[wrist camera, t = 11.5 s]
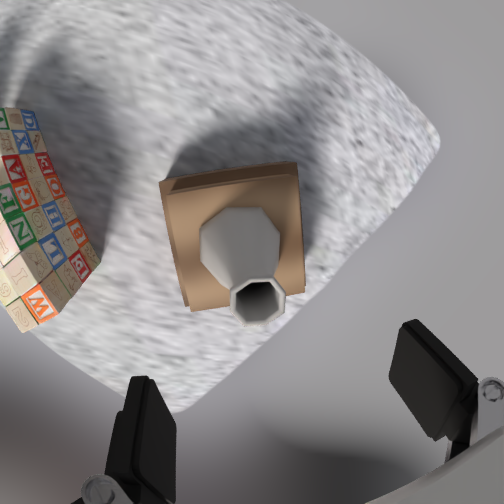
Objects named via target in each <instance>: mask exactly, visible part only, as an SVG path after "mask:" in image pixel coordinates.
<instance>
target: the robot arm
mask: <svg viewBox="0 0 504 504" xmlns="http://www.w3.org/2000/svg"><path fill="white" fill-rule="evenodd" d="M389 380H390V382H391V384H392V385H393V387H394V388H395V389H396V391H397V392H398V394H399V395H400V397H401V398H402V399H403V401H404V402H405V404H406V405H407V407H408V408H409V409H410V411H411V412H412V414H413V415H414V417H415V418H416V420H417V421H418V423H419V424H420V425H421V427H422V428H423V430H424V431H425V433H426V434H427V436H428V437H430V438H431V437H432V438H433V440H434V441H437V440H439V439H441V438H442V437H444V436H445V435H446V436H447V438H448V446H447V451H446V457H445V462H444V464H443V465H441V466H440V467H438V468H436V469H435V470H433V471H431V472H430V473H428V474H426V475H424V476H423V477H421V478H419V479H417V480H415V481H413V482H411V483H410V484H407V485H406V486H404V487H401V488H400V489H398V490H395V491H393V492H391V493H389V494H387V495H384V496H382V497H380V498H377V499H375V500H373V501H370V502H368V503H365V504H504V382H503V381H501V380H499V379H498V378H494V377H488V378H486V379H483V380H482V381H481V382H480V384H479V383H478V382H477V381H478V378H477V377H476V376H475V375H474V374H473V373H472V372H471V371H470V370H469V369H468V368H467V367H466V366H465V365H464V364H463V363H462V362H461V361H460V360H459V359H458V358H457V357H456V356H455V355H454V354H453V353H452V352H451V351H450V350H449V349H448V348H447V347H446V346H445V345H444V344H443V343H442V342H441V341H440V340H439V339H438V338H437V337H436V336H435V335H434V334H433V333H432V332H431V331H429V329H427V328H426V327H425V326H424V325H423V324H422V323H421V322H420V321H419V320H417V319H414V320H411V321H408V322H405V323H403V324H402V327H401V328H400V329H399V333H398V338H397V343H396V347H395V351H394V355H393V360H392V364H391V368H390V371H389ZM175 478H176V423H175V421H174V419H173V417H172V415H171V413H170V411H169V409H168V408H167V406H166V404H165V402H164V400H163V398H162V396H161V394H160V392H159V390H158V388H157V385H156V383H155V381H154V380H153V379H149V377H148V376H132V377H131V379H130V383H129V387H128V391H127V395H126V399H125V404H124V408H123V411H119V412H118V413H117V415H116V419H115V423H114V428H113V433H112V437H111V442H110V447H109V452H108V457H107V462H106V468H105V474H104V475H103V474H97V475H93V476H90V477H89V478H88V479H87V480H85V482H84V483H83V485H82V488H81V496H82V497H81V498H79V499H78V500H76V501H75V502H73V503H71V504H174V503H175V501H176V489H175V488H176V486H175V485H176V482H175V481H176V479H175Z"/></svg>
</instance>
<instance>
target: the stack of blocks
mask: <svg viewBox="0 0 504 504" xmlns="http://www.w3.org/2000/svg"><path fill="white" fill-rule="evenodd" d="M99 264H100V260H99V258H98V257H97V255H96V253H95V251H94V249H93V248H92V246H91V244H90V242H89V239H88V237H87V235H86V233H85V231H84V229H83V227H82V226H81V224H80V222H79V220H78V218H77V216H76V214H75V211H74V209H73V207H72V205H71V203H70V201H69V199H68V197H67V196H66V195H65V192H64V190H63V188H62V186H61V183H60V181H59V179H58V177H57V175H56V174H55V171H54V168H53V166H52V163H51V161H50V158H49V156H48V154H47V149H46V146H45V143H44V141H43V138H42V135H41V132H40V130H39V127H38V124H37V121H36V118H35V115H34V112H33V111H27V110H19V109H15V108H7V107H5V108H0V300H1V301H2V303H3V305H4V306H6V310H7V312H8V313H9V315H10V316H11V317H12V319H13V321H14V322H15V323H16V325H17V327H18V328H19V329H20V331H21V332H22V333H25V332H26V331H28V330H30V329H32V328H34V327H36V326H38V325H39V324H41V323H43V322H45V321H47V320H49V319H51V318H52V317H54V316H56V315H58V314H59V313H60V312H61V310H62V309H63V308H64V306H65V305H66V304H67V302H68V301H69V300H70V299H71V298H72V297H73V296H74V295H75V293H76V292H77V291H78V289H79V288H80V287H81V286H82V284H83V283H84V282H85V280H86V279H87V278H88V277H89V275H90V274H91V272H93V271H94V270H95V268H96V267H97V266H98V265H99Z"/></svg>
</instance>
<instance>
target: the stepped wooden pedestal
mask: <svg viewBox="0 0 504 504" xmlns="http://www.w3.org/2000/svg"><path fill="white" fill-rule="evenodd" d="M159 187H160V193H161V199H162V204H163V210H164V215H165V220H166V225H167V230H168V235H169V240H170V245H171V249H172V254H173V258H174V263H175V267H176V271H177V276H178V280H179V284H180V288H181V292H182V296H183V300H184V304H185V307H187V306H190V310H191V312H194V311H201V310H207V309H214V308H220V307H226V306H230V290H229V289H227V288H226V287H224V286H222V285H221V284H220V283H219V282H218V281H217V280H216V278H215V277H214V276H213V275H212V274H211V273H210V272H209V270H208V269H207V268H206V267H205V266H204V265H203V263H202V262H201V261H200V243H199V228H200V227H202V226H203V225H204V224H205V223H207V222H208V221H209V220H211V219H212V218H213V217H215V216H216V215H217V214H218V213H220V212H221V211H222V210H224V209H225V208H226V207H261V208H262V209H263V210H264V212H265V213H266V214H267V216H268V217H269V219H270V220H271V221H272V223H273V224H274V226H275V227H276V228H277V230H278V231H279V232H280V246H279V265H278V268H277V270H276V272H275V274H274V277H275V279H276V280H277V281H278V282H279V284H280V285H281V286H282V288H283V289H284V290H285V292H286V296H289V295H294V294H299V293H304V292H305V286H306V281H305V261H304V244H303V229H302V215H301V203H300V191H299V180H298V169H297V163H296V162H287V161H285V162H275V163H266V164H258V165H249V166H242V167H234V168H227V169H220V170H214V171H207V172H201V173H195V174H189V175H184V176H178V177H173V178H167V179H164V180H162V181H160V182H159Z"/></svg>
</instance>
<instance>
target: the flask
mask: <svg viewBox="0 0 504 504" xmlns="http://www.w3.org/2000/svg"><path fill="white" fill-rule="evenodd" d="M199 243H200V261H201V262H202V263H203V265H204V266H205V267H206V268H207V269H208V270H209V272H210V273H211V274H212V275H213V276H214V277H215V278H216V280H217V281H218V282H219V283H220V284H221V285H222V286H224V287H226V288H227V289H229V290H230V312H231V313H232V314H233V315H234V316H235V317H236V318H237V319H238V321H239V322H240V323H241V324H242V325H243V326H244V327H245V326H261V325H267V324H269V323H270V322H272V321H273V320H275V319H276V318H277V317H279V316H280V315H282V314H283V313H284V311H285V299H286V292H285V290H284V289H283V288H282V286H281V285H280V284H279V282H278V281H277V280H276V279H275V277H274V274H275V272H276V270H277V268H278V265H279V246H280V232H279V231H278V230H277V228H276V227H275V226H274V224H273V223H272V221H271V220H270V219H269V217H268V216H267V214H266V213H265V212H264V210H263V209H262V208H261V207H226V208H225V209H224V210H222V211H221V212H220V213H218V214H217V215H216V216H215V217H213V218H212V219H211V220H209V221H208V222H207V223H205V224H204V225H203V226H202V227H200V228H199Z"/></svg>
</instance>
